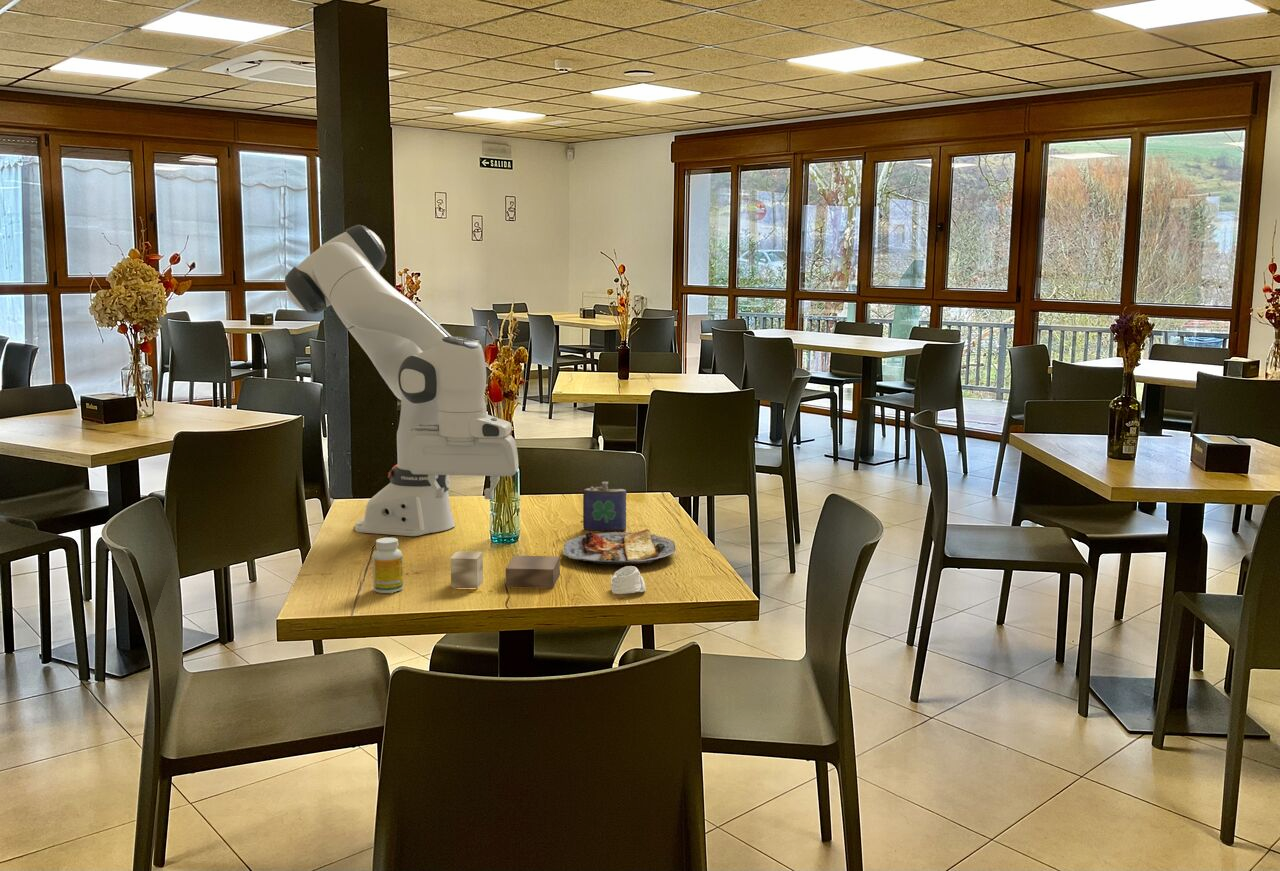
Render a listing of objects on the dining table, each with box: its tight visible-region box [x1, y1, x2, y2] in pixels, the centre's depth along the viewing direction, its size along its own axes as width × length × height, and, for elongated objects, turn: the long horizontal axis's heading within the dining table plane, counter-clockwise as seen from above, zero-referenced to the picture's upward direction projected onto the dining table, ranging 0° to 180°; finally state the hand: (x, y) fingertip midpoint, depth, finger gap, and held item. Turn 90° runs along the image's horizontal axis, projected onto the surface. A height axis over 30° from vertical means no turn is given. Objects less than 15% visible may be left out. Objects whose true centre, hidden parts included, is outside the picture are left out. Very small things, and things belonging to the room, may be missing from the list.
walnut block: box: [505, 554, 561, 589], centre depth 205 cm, size 9×9×4 cm
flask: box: [582, 481, 627, 533], centre depth 243 cm, size 10×3×12 cm, turn 88°
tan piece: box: [449, 550, 484, 590], centre depth 201 cm, size 5×5×6 cm
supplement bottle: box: [372, 537, 404, 594], centre depth 198 cm, size 5×5×10 cm
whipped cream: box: [610, 565, 647, 595], centre depth 199 cm, size 8×7×5 cm
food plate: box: [562, 529, 676, 566], centre depth 223 cm, size 25×23×4 cm
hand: (464, 498), depth 199 cm, fingers open, 8 cm apart
